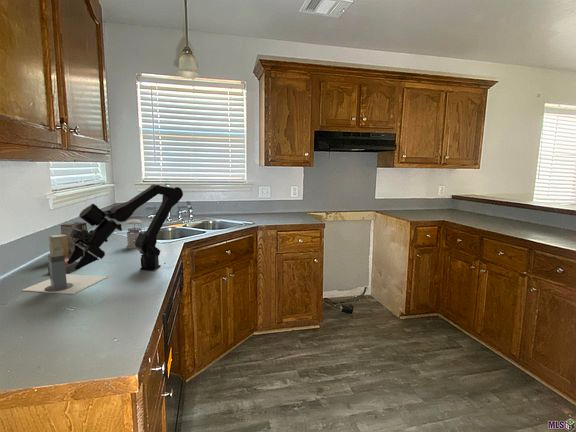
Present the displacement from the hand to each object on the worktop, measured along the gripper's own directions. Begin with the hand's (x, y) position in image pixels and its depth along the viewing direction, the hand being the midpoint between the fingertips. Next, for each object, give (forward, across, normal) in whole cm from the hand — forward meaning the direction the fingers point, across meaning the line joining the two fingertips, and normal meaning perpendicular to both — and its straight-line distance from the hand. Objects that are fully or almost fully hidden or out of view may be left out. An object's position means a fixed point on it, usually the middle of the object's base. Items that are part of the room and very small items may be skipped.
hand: (71, 266), depth 121 cm
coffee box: (-4, -45, +15) cm, 47 cm away
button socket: (+4, -21, +7) cm, 23 cm away
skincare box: (+2, -39, +9) cm, 40 cm away
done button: (+2, -21, +6) cm, 22 cm away
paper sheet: (+6, -3, +4) cm, 8 cm away
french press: (-24, -44, +36) cm, 62 cm away
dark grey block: (+8, 0, +2) cm, 8 cm away
